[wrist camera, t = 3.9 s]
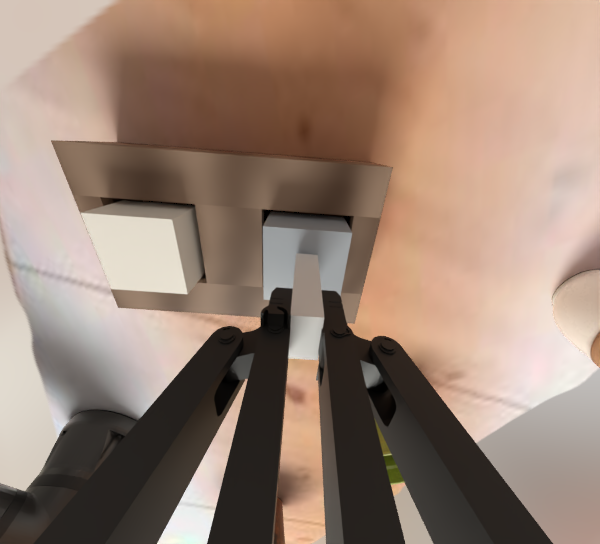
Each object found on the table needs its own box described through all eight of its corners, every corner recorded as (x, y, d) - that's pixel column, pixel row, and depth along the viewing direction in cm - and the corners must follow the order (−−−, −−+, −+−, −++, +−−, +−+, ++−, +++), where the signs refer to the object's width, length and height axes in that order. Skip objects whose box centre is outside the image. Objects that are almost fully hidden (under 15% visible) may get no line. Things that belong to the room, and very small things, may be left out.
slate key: (270, 274, 21) (263, 299, 18) (270, 211, 18) (262, 226, 15) (333, 279, 22) (338, 304, 18) (343, 216, 19) (352, 232, 15)
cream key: (143, 265, 21) (111, 289, 18) (123, 200, 18) (80, 212, 15) (207, 270, 21) (187, 294, 18) (197, 205, 18) (172, 219, 15)
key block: (154, 276, 27) (118, 307, 22) (116, 142, 20) (51, 140, 15) (345, 289, 27) (354, 323, 22) (370, 162, 21) (392, 167, 15)
